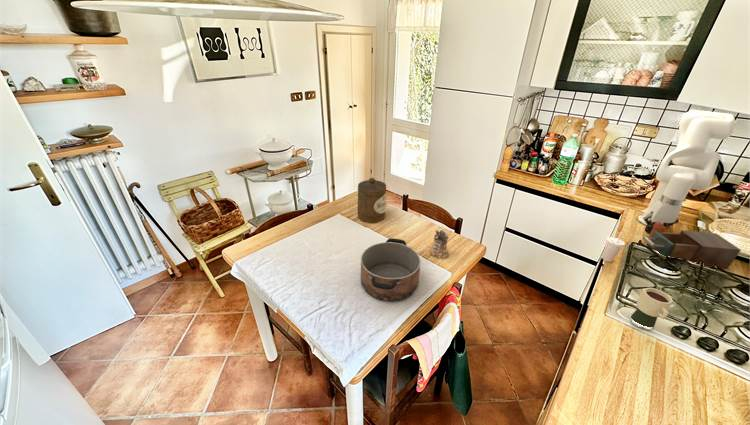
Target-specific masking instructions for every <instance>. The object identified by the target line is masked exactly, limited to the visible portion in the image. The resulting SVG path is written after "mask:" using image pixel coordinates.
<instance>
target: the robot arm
mask: <svg viewBox="0 0 750 425" xmlns="http://www.w3.org/2000/svg"><path fill="white" fill-rule="evenodd" d="M735 118H736V117H735V115H734V114H732V113H727V112H717V111H708V110H707V111H706V110H691V111H687V112H685V113H684V114H683V116H682V117H681V119H680V122H679V126H678V137H679V138H678V143H677V145H676V148H675V149H674V150H673V151H671V152H669V153H667V154H666V155H665V156H664V158H662V160H661V162H660V163H659V167H658V169H657V171H656V174H655V179H656V181H658V182H659V183H658V185H657V187H656V190H655V192H654V193H653V195H652V197H651V200H650V201H649V203H648V205H647V207H646V208H645V209H642V210H641V212H642V215H639V216H638V218H637V220H638V222H640V223H641V224H643V225H645V227H644V232H645V233H646V234H647V235H649V234H650V232H651V230H652V228H653V227H652V226H653V225H654V224H655V223H656V222H661V223H662V224H663V225H664V226H665V227H666V228H667V229H669V228H670V227H671V226H674V225H676V224H678V223H679V222H680V221H679V218H678V217H679V215H680V214H681V211H682V208H683V203H684V202H686V201H687V199H686V197H687V195H688V194H689V192H690V190H695V191H705V190H706V189H708V188H709V187H710V185H711V183H712V181H713V178H714V176H715V173H716V170H717V167H718V164H719V162H720V159H721V158H720V157H721V156H720V153H719V152H718V151H716V150H712V149H707V147H708V145H709V142H710V141H711V140H710V139H714V140H721V141H723V140H724V141H725V140H727V139H729V137H731V136H732V134H733V133H734V130H735V127H736V119H735ZM670 162H672V164H673V165H669V164H670ZM651 222H652V223H651Z"/></svg>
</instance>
